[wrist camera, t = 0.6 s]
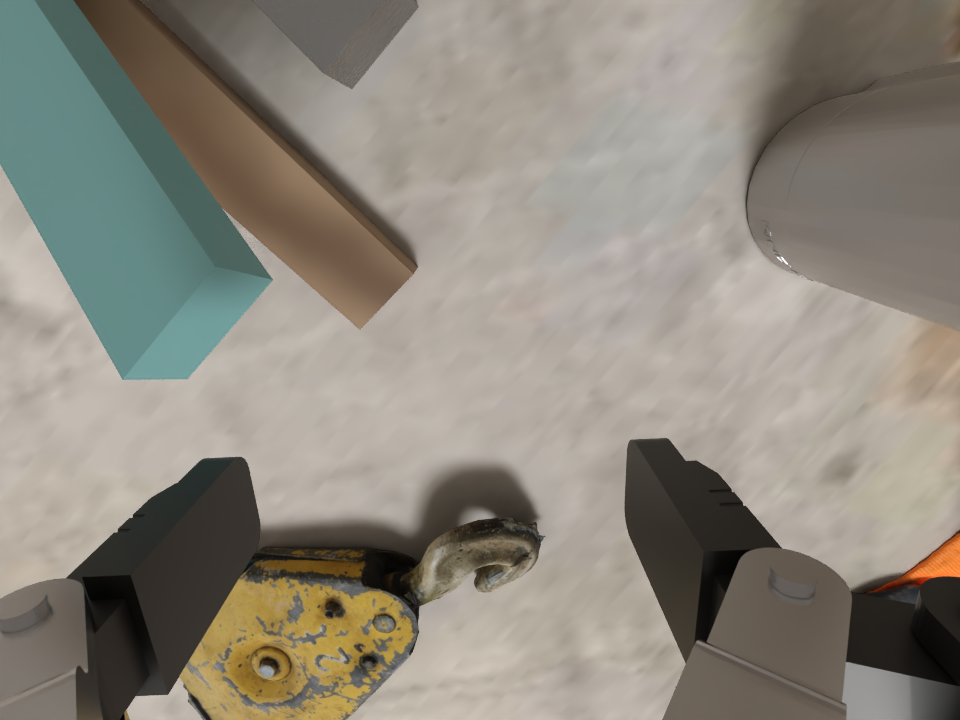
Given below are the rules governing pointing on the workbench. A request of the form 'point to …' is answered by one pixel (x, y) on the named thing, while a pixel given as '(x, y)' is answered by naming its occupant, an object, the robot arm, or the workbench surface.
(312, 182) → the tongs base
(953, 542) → the pair of gloves
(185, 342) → the tongs upper jaw
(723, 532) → the robot arm
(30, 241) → the workbench surface
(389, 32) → the steel block
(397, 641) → the pulley block
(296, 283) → the workbench surface
